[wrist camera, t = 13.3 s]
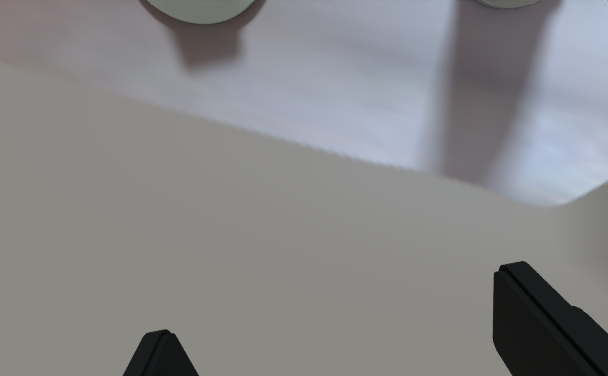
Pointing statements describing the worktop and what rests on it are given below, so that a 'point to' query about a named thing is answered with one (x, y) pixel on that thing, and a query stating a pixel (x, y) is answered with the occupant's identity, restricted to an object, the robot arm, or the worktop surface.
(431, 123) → the worktop surface
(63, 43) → the worktop surface
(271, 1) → the worktop surface
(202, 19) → the dish
